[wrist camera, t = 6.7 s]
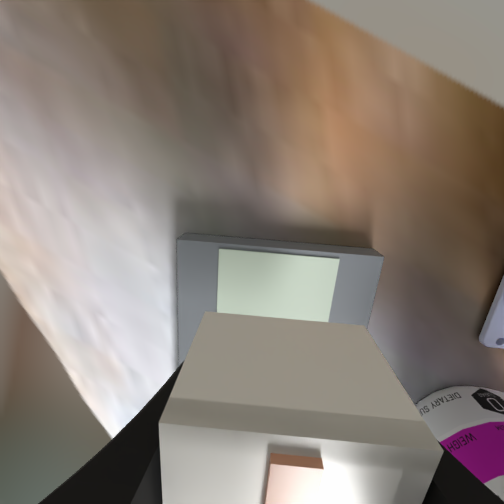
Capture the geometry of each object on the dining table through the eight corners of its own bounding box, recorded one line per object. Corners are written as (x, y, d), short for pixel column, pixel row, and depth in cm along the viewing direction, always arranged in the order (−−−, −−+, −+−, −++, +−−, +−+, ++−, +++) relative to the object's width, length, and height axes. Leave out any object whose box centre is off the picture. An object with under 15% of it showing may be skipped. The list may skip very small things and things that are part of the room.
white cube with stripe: (336, 441, 10) (383, 618, 6) (203, 428, 11) (163, 592, 6) (364, 325, 9) (451, 462, 5) (205, 311, 9) (154, 432, 5)
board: (373, 248, 15) (385, 257, 14) (328, 447, 20) (333, 470, 18) (184, 232, 15) (176, 240, 14) (186, 433, 20) (179, 454, 19)
